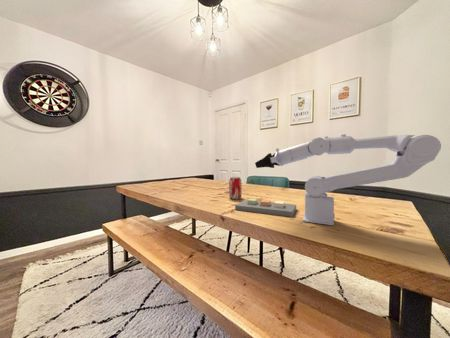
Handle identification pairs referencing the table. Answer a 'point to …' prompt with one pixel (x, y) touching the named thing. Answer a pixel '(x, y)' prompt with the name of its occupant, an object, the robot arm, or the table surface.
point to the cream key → (279, 204)
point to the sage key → (252, 201)
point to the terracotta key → (265, 203)
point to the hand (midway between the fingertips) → (259, 164)
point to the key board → (267, 209)
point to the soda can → (235, 188)
